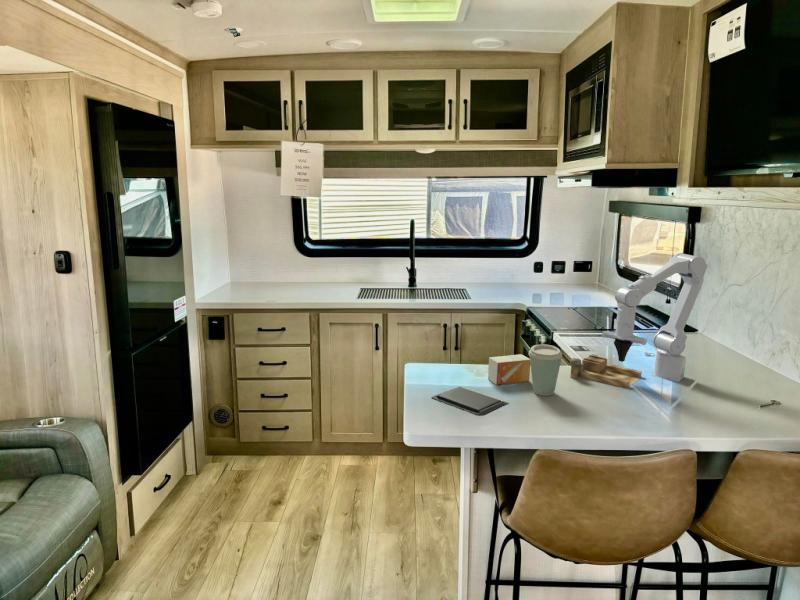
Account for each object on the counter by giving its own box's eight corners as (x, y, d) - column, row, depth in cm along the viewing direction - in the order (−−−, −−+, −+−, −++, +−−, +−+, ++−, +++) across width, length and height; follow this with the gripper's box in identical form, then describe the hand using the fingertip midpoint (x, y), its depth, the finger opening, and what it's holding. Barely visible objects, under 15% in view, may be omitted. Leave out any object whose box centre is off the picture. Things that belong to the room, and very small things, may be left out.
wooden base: (640, 378, 203) (643, 359, 201) (622, 392, 189) (625, 372, 187) (587, 366, 215) (589, 348, 213) (567, 379, 201) (568, 359, 199)
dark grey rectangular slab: (429, 393, 181) (461, 382, 191) (429, 399, 181) (460, 388, 192) (479, 413, 167) (510, 400, 177) (479, 419, 167) (510, 405, 178)
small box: (529, 381, 197) (496, 385, 193) (520, 375, 203) (487, 379, 199) (531, 359, 195) (497, 362, 191) (521, 353, 201) (488, 357, 197)
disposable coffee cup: (565, 397, 183) (568, 352, 180) (533, 399, 182) (536, 353, 178) (551, 385, 194) (554, 343, 190) (521, 387, 192) (523, 344, 189)
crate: (606, 371, 207) (607, 357, 206) (597, 377, 201) (599, 362, 200) (589, 368, 211) (591, 354, 210) (581, 373, 205) (582, 359, 204)
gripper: (600, 321, 197) (596, 359, 200) (643, 328, 188) (639, 368, 191) (607, 317, 203) (604, 354, 206) (650, 324, 194) (646, 363, 197)
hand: (621, 360), depth 199 cm, fingers closed
